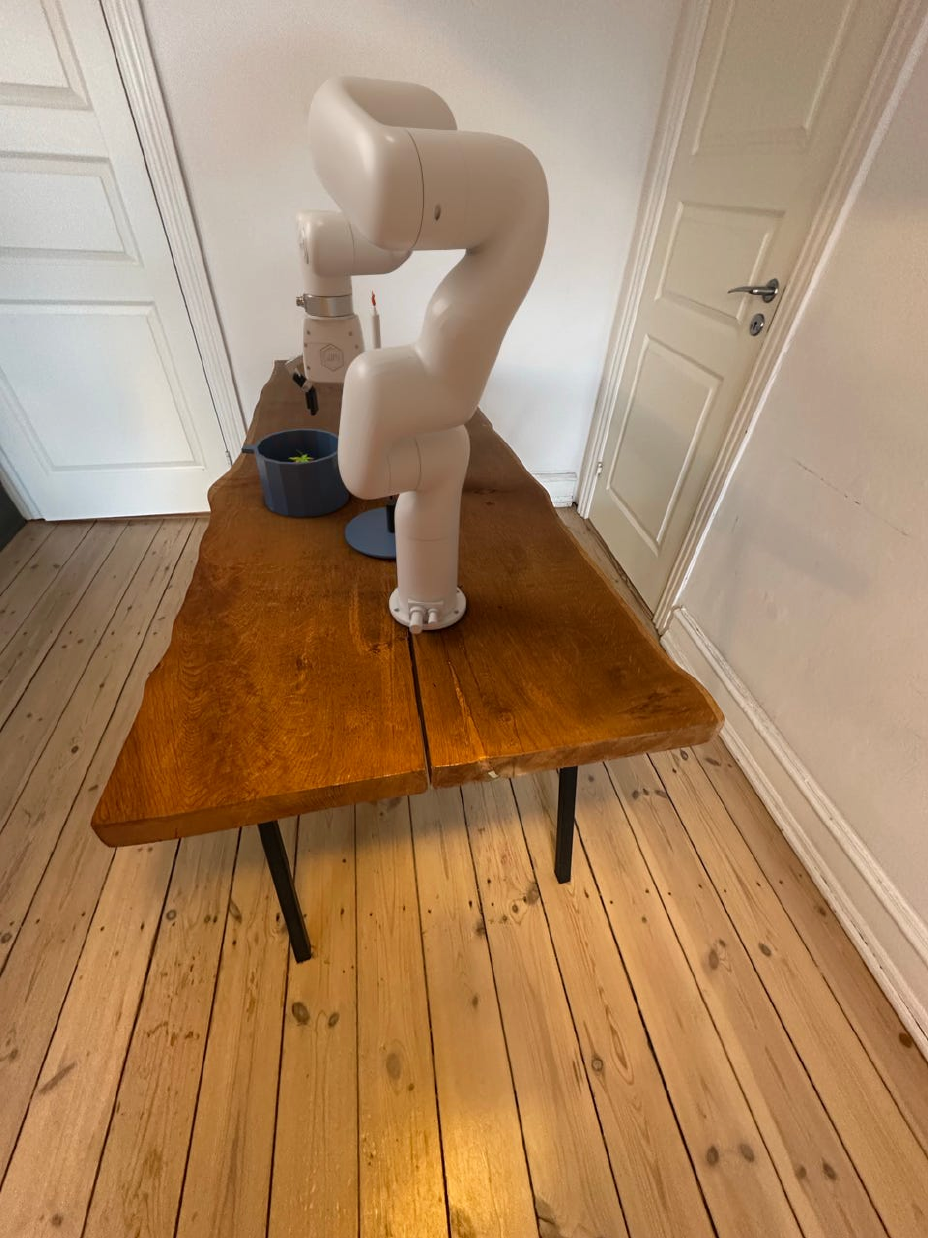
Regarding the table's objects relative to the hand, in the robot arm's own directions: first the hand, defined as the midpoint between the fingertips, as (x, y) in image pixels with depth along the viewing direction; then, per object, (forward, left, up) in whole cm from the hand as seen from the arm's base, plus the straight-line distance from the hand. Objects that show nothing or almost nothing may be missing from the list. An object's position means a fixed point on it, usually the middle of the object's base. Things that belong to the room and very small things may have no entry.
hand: (341, 413), depth 98 cm
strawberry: (+8, +11, -21) cm, 25 cm away
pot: (+8, +11, -21) cm, 25 cm away
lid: (-6, -9, -20) cm, 23 cm away
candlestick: (+34, -2, -21) cm, 40 cm away
